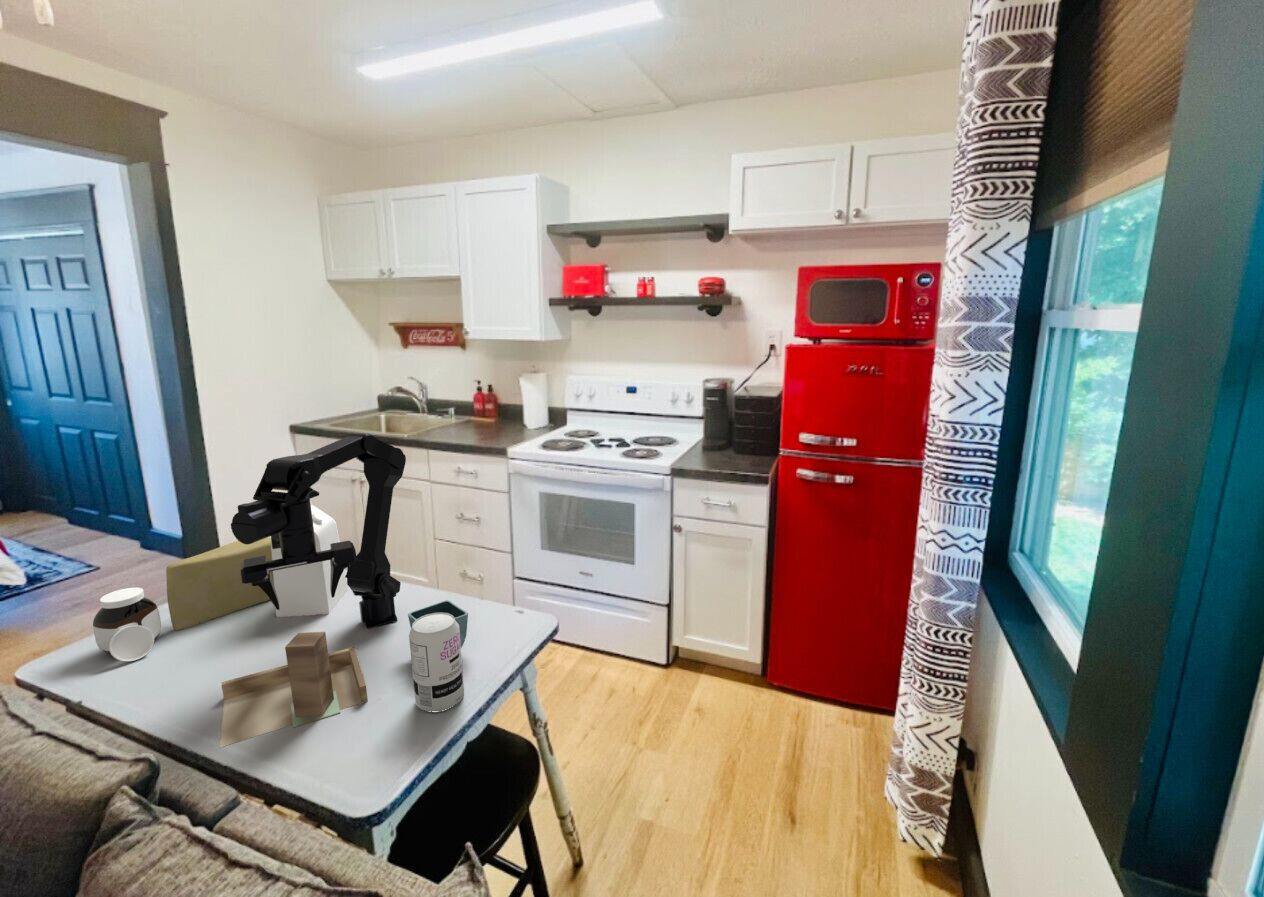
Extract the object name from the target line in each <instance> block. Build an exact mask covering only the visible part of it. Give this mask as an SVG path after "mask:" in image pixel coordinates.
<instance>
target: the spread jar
mask: <svg viewBox="0 0 1264 897" xmlns="http://www.w3.org/2000/svg"><path fill="white" fill-rule="evenodd" d="M99 604H100V607H101V608H100V609H99V610H98V611H97V613H96V614H95V615H94V618H93V621H92V630H93V636H94V638H95V639H94V640H95V643H96V645H97V647H98V649H99V650H100V651H102V652H104V653H106V654H108V655H111V656H112V657H113V658H114V659H116V660H118V661H121V662H122V661H123V662H134V661H136V660H140V659H141V658H143V657H145V656H146V655H147V654H148V653H150V651H151V650H152V649H153V646H154V644H155V642H156V640H157V639H158V637H159V636H160V634H161V632H162V621H161V620H162V619H161V614H160V610H159V608H158V605H157V604H156V602H155V601H154V600H151V599H150V598H148V597H145V591H144V589H143V588H142V587H127V588H121V589H117V590H114V591H111V592H109V593H107V594H104V595H103V596H102V597H100V598H99Z"/></svg>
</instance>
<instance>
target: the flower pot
mask: <svg viewBox="0 0 1264 897" xmlns="http://www.w3.org/2000/svg"><path fill="white" fill-rule="evenodd" d="M432 613H448V614H451V615H453V617H454V618H455V620H456V622H457V623H458V624H459V631H460V644H461V649H462V648H463V646H464V644H465V641H466V638H467V632H468V621H469V620H468V619H469V612H467V611H466V610H464V609H463V608H461V607H459V606H458V605H456V604H455V603H453V602H452V601H451V600H448V599H446V600H442V601H440V602H437V603H433V604H432V605H428V606H425V607H422V608H419V609H416V610H413V611H411V612H409V613H407V616H408V622H409V627H410V629H411V628H412V625H413V623H414V622H415V620H417V619H418V618H420V617H422V616H425V615H427V614H432Z"/></svg>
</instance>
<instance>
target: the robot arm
mask: <svg viewBox="0 0 1264 897" xmlns="http://www.w3.org/2000/svg"><path fill="white" fill-rule="evenodd" d="M355 458H356V460H358V461H359V462H361V463H363V474H364V476H365V478H366V481H367V484H368V492H367V500H366V508H365V514H364V522H363V530H362V535H361V536H362V537H361V543H360V550H359V552H358V553H357V552H356V548H355V545H354V543H353V542H352V541H351V540H345V541H340V542H338V543H332V544H330V546H331V550H325V551H320V552H317V550H316V542H315V535H314V527H313V519H312V511H311V503H310V500H311V499H313V498H316V497H319V495H320V492H319V491H317V490H315V489H313V488H312V486H314V485H315V484H317V483H318V482H319V481H320V479H321V476H322V475H323V474H325V473H326V472H328V471H331V470H332V469H334V468H336V467H339V466H340V465H343V464H344V463H347V462H349V461H351V460H354V459H355ZM406 458H407V457H406V454H404V452H403V450H402V449H401V448H399V447H394V446H393V445H391V444H389V443H386V442H384V441H383V440H380V439H378V438H376V437H375V436H374V435H372V434H370V433H361V432H353V433H350V434H348V435H347V436H346V437H343V438H341V439H338V440H336V441H334V442H331V443H328V444H326V445H324V446H322V447H320V448H317V449H316V450H315V449H314V450H312V451H311V452H308V453H303V454H298V455H297V454H296V455H287V456H282V457H278V458H273V459H271V460H270V461H268V462H267V463H266V465H265V466H266V468H265V470H264V473H263V475H262V476H261V478H260V480H259V481H260V482H259V484H258V486H257V488H256V489H255V492H254V495H253V497H252V499H253V501H251V502H247V503H241V504H238V505H237V513H235V514H234V515H233V517H232V519H231V523H230V528H231V529H230V530H231V532H232V534H233V536H234V538H236V541H240V542H241V543H243V544H252V543H254V542H257V541H259V540H262V539H264V538H267V537H269V538H271V542H272V549H278V548H281V554H282V559H277V560H271V561H266V556H261V557H255V558H249V559H244V560H243V562H242V563H241V578H242V583H245V584H247V583H251V584H252V586H259V587H260V588H261V589H262V590H263V591H264V592H265V593H266V594H267V596H268V597H269V598H270V600H269V601H270V602H271V603H272V604H273V606H274V608H275V610H276V609H277V610H279V609H280V608H279V601H278V597H277V594H276V590H275V587H274V584H273V581H272V577H271V573H270V571H275V570H280V569H285V568H290V567H295V566H300V565H306V564H311V563H316V562H321V561H326V560H330V564H331V580H330V590H331V596H332V598H333V597H334V596H335V592H336V589H337V586H338V582H339V579H340V577H341V575H342V573H343V571H344V569H346V568H347V570H346V573H345V575H346V576H345V578H346V581H347V587H348V588H350V590H351V591H352V593H353V596H355V597H357V596H358V597H360V598H361V601H359V602H358V605H359V613H360V620H361V622H362V623H363V624H364V626H365V628H366V629H371V628H374V627H378V626H382V625H387V624H390V623H393V622H396V621H398V616H397V614H396V606H395V598H396V597H397V594H398V593H399V592H400V591H401V590H400V589H401V582H400V581H399V580H397V579H396V578H395V577H393V576H391V564H390V561H389V559H388V556H387V553H386V545H387V539H388V530H389V524H390V515H391V507H392V501H393V492H394V488H395V486H396V485H397V484H398V482H399V481H400V480H401V478H402V477H403V475H404V470H405V467H406V462H407V459H406ZM274 490H276V491H274ZM277 490H278V491H277ZM283 491H284V492H283ZM285 491H286V492H285Z"/></svg>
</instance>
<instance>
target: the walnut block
mask: <svg viewBox="0 0 1264 897" xmlns="http://www.w3.org/2000/svg"><path fill="white" fill-rule="evenodd" d="M284 648H285V655H286V656H285V657H286V662H287V663H286V665H288V671H289V677H290V684H291V691H292V698H293V705H294V712H295V717H307V716H323V715H324V713H325V712H326V710H327V709H328V707H329V706H330V704H331V703H332V701H333V700H334V695H333V687H332V679H331V671H330V664H329V656H328V654H329V650H328V642H327V634H326V631H315V632H314V631H311V632H298V633H297V634H295V636H294V637H293V638H291V640H290V641H289V642H288V643H287V644H286V645H285V647H284Z"/></svg>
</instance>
